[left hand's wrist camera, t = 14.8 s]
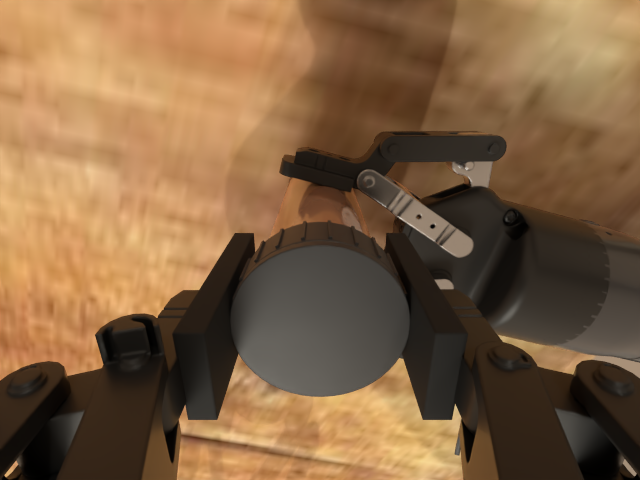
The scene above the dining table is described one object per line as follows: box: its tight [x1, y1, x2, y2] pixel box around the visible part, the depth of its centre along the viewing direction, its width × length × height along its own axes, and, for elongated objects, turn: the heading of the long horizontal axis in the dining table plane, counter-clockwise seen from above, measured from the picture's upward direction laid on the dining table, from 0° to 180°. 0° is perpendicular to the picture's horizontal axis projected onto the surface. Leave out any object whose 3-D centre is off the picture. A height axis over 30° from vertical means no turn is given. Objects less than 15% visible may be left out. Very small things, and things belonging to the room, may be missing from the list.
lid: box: [230, 220, 410, 397], centre depth 11 cm, size 6×6×2 cm
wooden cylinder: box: [269, 178, 371, 238], centre depth 18 cm, size 5×5×15 cm
